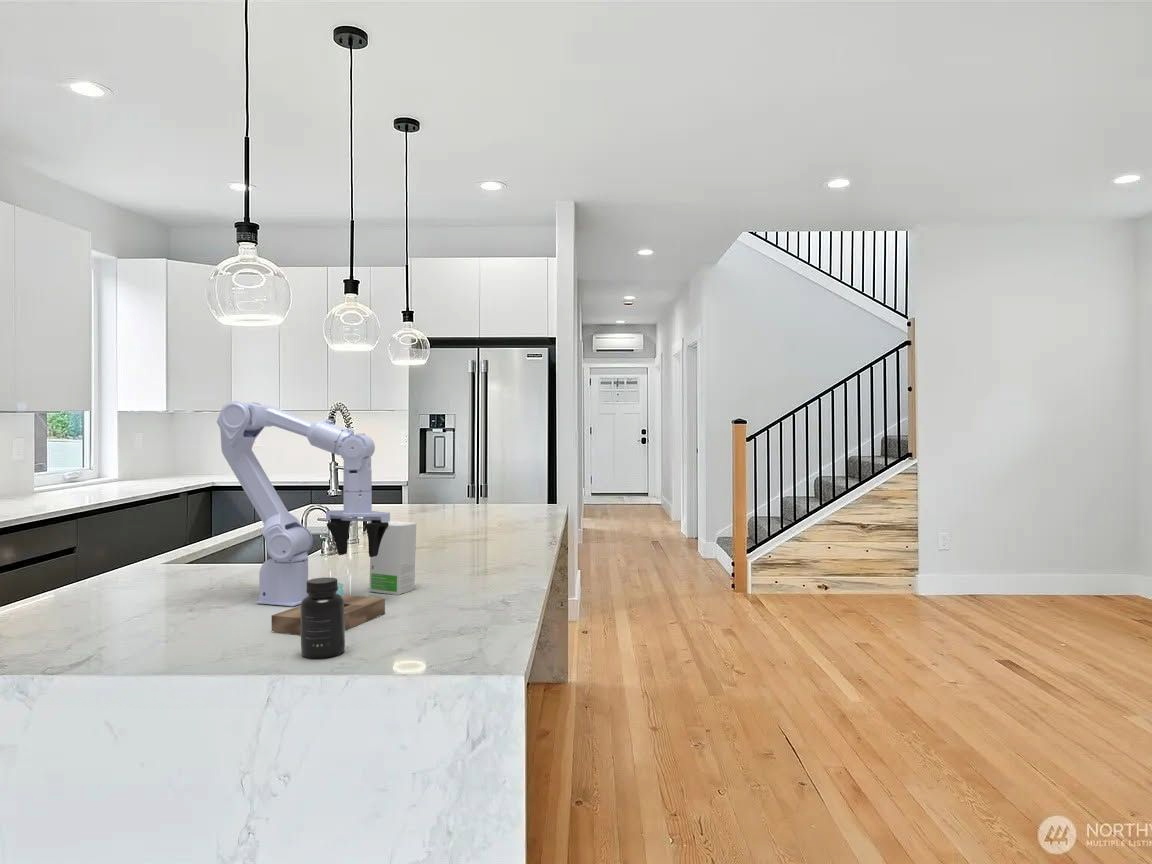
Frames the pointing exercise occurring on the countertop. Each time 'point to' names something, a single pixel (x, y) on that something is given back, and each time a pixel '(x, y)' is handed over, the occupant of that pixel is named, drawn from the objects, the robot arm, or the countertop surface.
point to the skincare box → (395, 560)
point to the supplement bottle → (322, 620)
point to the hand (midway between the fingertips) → (357, 555)
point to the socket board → (354, 614)
